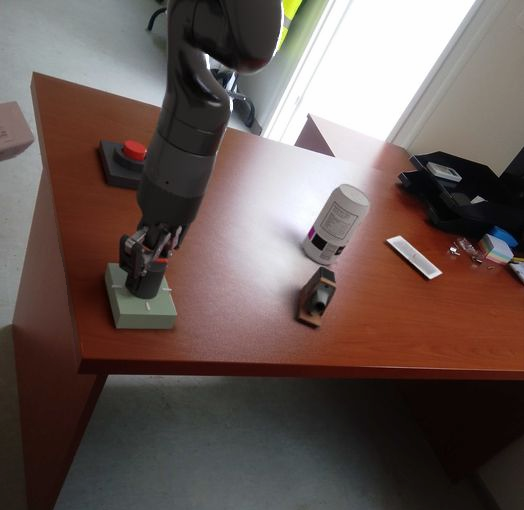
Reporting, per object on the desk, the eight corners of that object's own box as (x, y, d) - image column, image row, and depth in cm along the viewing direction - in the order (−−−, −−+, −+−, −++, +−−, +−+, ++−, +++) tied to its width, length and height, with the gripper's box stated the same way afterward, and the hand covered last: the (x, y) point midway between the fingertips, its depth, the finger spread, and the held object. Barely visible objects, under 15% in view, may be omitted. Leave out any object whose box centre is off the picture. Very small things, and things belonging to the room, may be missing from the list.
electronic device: (295, 321, 80) (316, 290, 75) (299, 290, 87) (318, 259, 82) (317, 331, 81) (339, 301, 76) (319, 299, 88) (340, 270, 83)
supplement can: (295, 240, 98) (329, 179, 88) (323, 242, 103) (359, 185, 93) (311, 265, 94) (350, 204, 84) (340, 267, 99) (380, 209, 89)
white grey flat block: (397, 238, 122) (402, 232, 120) (439, 276, 117) (445, 269, 116) (383, 243, 116) (388, 236, 115) (427, 282, 112) (433, 276, 110)
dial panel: (102, 277, 67) (106, 261, 65) (158, 281, 72) (163, 266, 70) (113, 328, 62) (118, 312, 60) (173, 329, 67) (179, 314, 65)
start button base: (98, 149, 89) (101, 130, 87) (148, 160, 95) (153, 142, 92) (108, 185, 83) (112, 165, 80) (161, 194, 88) (166, 176, 86)
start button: (121, 146, 87) (122, 138, 85) (142, 151, 89) (144, 143, 87) (125, 158, 84) (126, 149, 83) (146, 162, 87) (148, 154, 85)
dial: (131, 299, 63) (140, 269, 59) (123, 277, 65) (131, 247, 61) (161, 299, 65) (171, 270, 61) (153, 278, 67) (162, 249, 64)
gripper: (169, 211, 48) (134, 321, 59) (230, 177, 58) (190, 276, 70) (110, 171, 48) (87, 289, 59) (182, 145, 59) (150, 249, 70)
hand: (143, 281), depth 64 cm, fingers closed on dial, 4 cm apart
